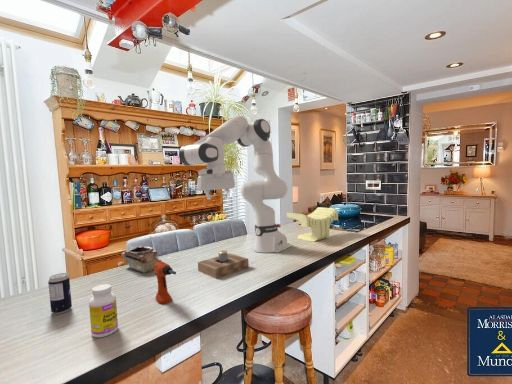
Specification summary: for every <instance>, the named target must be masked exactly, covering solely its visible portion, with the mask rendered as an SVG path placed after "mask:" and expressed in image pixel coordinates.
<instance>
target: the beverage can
mask: <svg viewBox="0 0 512 384" xmlns="http://www.w3.org/2000/svg"><path fill="white" fill-rule="evenodd" d="M70 282H71V281H70V276H69V275H68V273H67V272H61V273H60V272H59V273H57V274H53V275H51V276H49V277H48V282H47V283H48V294H49V303H50V304H49V305H50V312H51V313H53V314H54V315H60V314H64V313H66V312H68V311H70V309H71V308H72V306H73V305H72V294H71V293H72V292H71V284H70Z"/></svg>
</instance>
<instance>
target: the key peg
mask: <svg viewBox="0 0 512 384" xmlns="http://www.w3.org/2000/svg"><path fill="white" fill-rule="evenodd" d="M227 254H228V251H227V250H220V251H218V256H219V263H225V262H228V255H227Z"/></svg>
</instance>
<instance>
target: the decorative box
mask: <svg viewBox="0 0 512 384" xmlns="http://www.w3.org/2000/svg"><path fill="white" fill-rule="evenodd" d="M156 256H158V250H156V249H155V250H154V247H152V246H146V245H142V246H134V247H131V248H129V249H128V250H124V251H123V252H122V253H121V257H122V258H123V259H124V260H125V262H126V263H127V264H128V266H129V268H130V269H132V270H135V271H138V272H142V273H145V274H146V273H147V272H152V271H154V265H155V263H157V261H158V260H160V259H159V257H156Z"/></svg>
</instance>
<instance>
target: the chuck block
mask: <svg viewBox="0 0 512 384" xmlns="http://www.w3.org/2000/svg"><path fill="white" fill-rule="evenodd" d="M227 255H228V262H225V263H219V255H218V256H215V257H212V258H207V259H204V260H201V261H198V262H197V269H198V270H197V271H198V272H200V273H203V274H204V275H207V276H208V277H211V278H213V279H218V278H221V277H222V278H223V277H224V276H227V275H230V274H233V273H236V272H238V271H243V270H246V269H248V268H249V267H250V266H249V258H247V257H244V256H241V255H238V254H233V253H230V252H229V253H227Z"/></svg>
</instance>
